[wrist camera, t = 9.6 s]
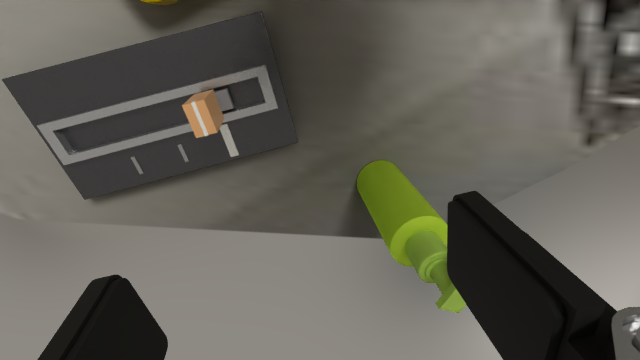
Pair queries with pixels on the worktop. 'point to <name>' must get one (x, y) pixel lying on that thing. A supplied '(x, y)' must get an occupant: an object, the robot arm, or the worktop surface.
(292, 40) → the worktop surface
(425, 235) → the soap dispenser
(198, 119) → the fader knob
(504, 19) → the worktop surface
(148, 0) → the element tile
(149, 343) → the robot arm
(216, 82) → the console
